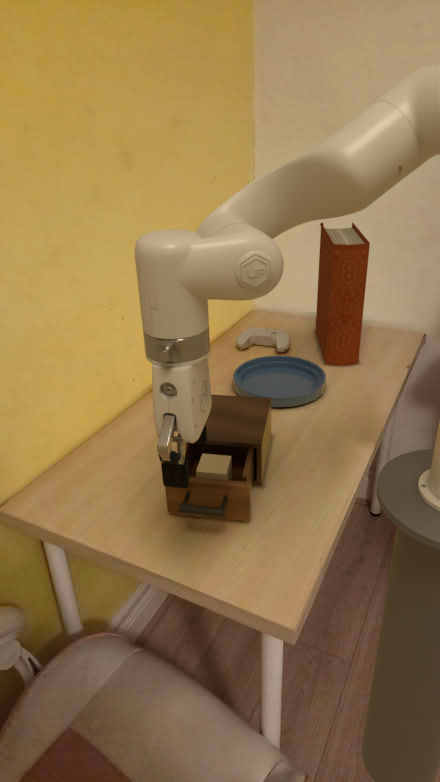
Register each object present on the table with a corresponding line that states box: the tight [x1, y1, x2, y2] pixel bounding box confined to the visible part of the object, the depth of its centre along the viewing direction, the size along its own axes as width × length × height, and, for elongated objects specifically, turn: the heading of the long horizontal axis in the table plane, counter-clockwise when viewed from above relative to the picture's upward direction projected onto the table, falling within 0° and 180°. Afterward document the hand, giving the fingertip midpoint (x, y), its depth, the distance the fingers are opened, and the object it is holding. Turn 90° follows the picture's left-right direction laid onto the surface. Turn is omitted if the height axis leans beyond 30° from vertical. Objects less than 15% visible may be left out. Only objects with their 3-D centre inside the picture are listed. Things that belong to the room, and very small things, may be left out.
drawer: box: [164, 443, 257, 522], centre depth 89 cm, size 19×14×7 cm
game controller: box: [235, 326, 291, 353], centre depth 145 cm, size 14×4×10 cm
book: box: [315, 222, 371, 367], centre depth 137 cm, size 23×8×30 cm, turn 178°
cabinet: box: [176, 394, 272, 487], centre depth 101 cm, size 16×15×9 cm
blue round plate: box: [232, 354, 327, 408], centre depth 126 cm, size 21×21×3 cm
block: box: [196, 454, 232, 481], centre depth 90 cm, size 5×5×5 cm
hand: (186, 462), depth 70 cm, fingers open, 9 cm apart
